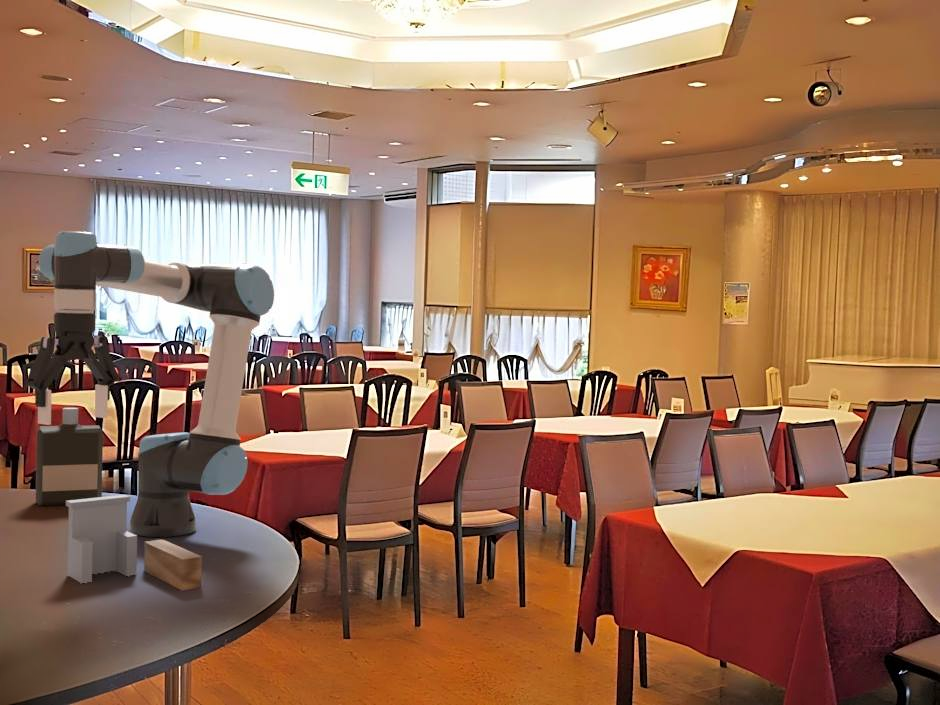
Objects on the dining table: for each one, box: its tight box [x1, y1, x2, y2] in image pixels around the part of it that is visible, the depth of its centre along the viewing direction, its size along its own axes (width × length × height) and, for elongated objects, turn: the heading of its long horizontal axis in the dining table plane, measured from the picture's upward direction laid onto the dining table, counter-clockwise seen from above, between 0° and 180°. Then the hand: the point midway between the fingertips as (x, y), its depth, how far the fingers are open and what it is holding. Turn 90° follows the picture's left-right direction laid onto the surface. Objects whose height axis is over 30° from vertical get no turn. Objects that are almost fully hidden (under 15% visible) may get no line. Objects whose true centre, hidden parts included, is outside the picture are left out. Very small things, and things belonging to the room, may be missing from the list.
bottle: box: [35, 407, 104, 507], centre depth 267 cm, size 8×16×25 cm, turn 115°
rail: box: [143, 539, 203, 591], centre depth 201 cm, size 4×17×6 cm, turn 43°
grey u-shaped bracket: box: [65, 494, 138, 584], centre depth 201 cm, size 12×7×15 cm, turn 133°
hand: (73, 420), depth 198 cm, fingers open, 13 cm apart
